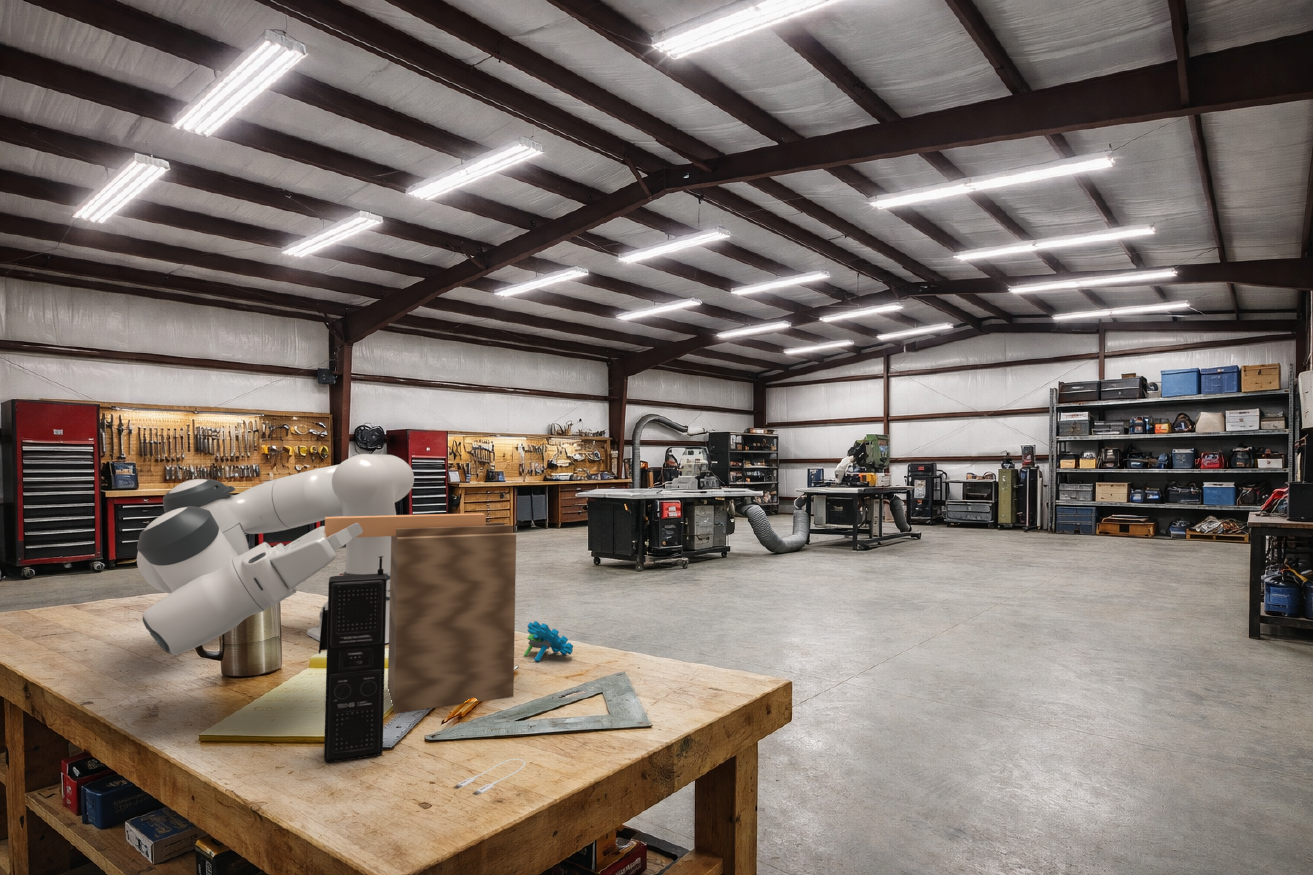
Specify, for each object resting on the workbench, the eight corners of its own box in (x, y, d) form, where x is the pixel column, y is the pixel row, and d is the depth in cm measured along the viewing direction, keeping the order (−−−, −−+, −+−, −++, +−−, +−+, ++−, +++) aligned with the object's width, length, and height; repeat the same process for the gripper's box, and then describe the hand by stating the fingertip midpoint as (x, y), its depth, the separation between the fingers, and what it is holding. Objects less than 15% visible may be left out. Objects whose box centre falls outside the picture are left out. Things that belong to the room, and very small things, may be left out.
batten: (324, 538, 104) (325, 518, 104) (324, 536, 106) (325, 516, 106) (485, 532, 114) (485, 514, 114) (481, 530, 117) (482, 513, 117)
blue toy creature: (584, 650, 132) (551, 618, 128) (568, 678, 129) (534, 646, 125) (550, 647, 140) (518, 617, 136) (534, 673, 136) (501, 642, 132)
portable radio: (314, 767, 85) (320, 563, 86) (317, 748, 90) (322, 557, 91) (383, 756, 88) (387, 560, 89) (381, 739, 94) (385, 554, 94)
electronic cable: (452, 789, 80) (452, 785, 80) (509, 758, 89) (510, 754, 89) (477, 798, 78) (478, 794, 78) (534, 765, 87) (534, 762, 87)
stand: (394, 713, 103) (398, 530, 104) (387, 689, 114) (391, 524, 115) (513, 696, 111) (516, 527, 112) (496, 675, 122) (499, 521, 123)
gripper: (284, 579, 112) (365, 534, 117) (277, 604, 93) (374, 548, 99) (263, 546, 110) (346, 502, 116) (251, 564, 92) (351, 511, 98)
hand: (359, 523), depth 107 cm, fingers open, 8 cm apart
